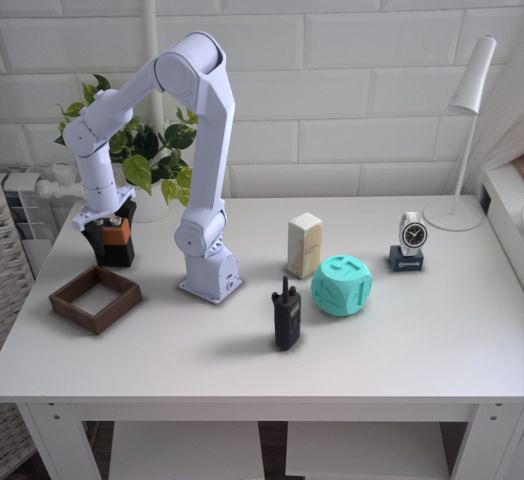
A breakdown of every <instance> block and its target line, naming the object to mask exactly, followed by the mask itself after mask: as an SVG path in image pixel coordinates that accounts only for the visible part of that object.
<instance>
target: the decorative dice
mask: <svg viewBox="0 0 524 480" xmlns="http://www.w3.org/2000/svg"><path fill="white" fill-rule="evenodd" d="M312 275H313V276H312V278H311V282H310V293H311V296H312V298H313V300H314V302H315V304H316V305H317V306H318V307H319V308H320V310H322V311H323V312H325V313H327V314H329V315H331V316H335V317H347V316H351V315H354V314H356V313H357V312H358V311H360V310H361V308H362V307H363V306H364V305H365V303H366V302H367V300H368V298H369V296H370V294H371V292H372V291H371V290H372V287H373V278H372V274H371V272H370V270H369V268H368V266H367V265H366V264H365V263H364V262H363V261H361V260H360V259H359V258H357V257H355V256H352V255H348V254H334V255H332V256H331V255H330V256H329V257H327V258H325V259H324V260H323V261H321V262H320V265H319V266H318V268H317V269H316V271H315V272H313V274H312Z"/></svg>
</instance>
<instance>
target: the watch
mask: <svg viewBox="0 0 524 480" xmlns="http://www.w3.org/2000/svg"><path fill="white" fill-rule="evenodd" d="M398 227H399V231H398V233H399V234H398V239H399V241H398V242H399V244H395V245H390V247H389V255H388V260H389V261H388V262H389V264H390V267H391V269H392V272H394V273H398V272H414V271H415V272H417V271H422V270H423V264H424V260H425V259H424V258H425V256H424V254H423V252H422V249H423V248H424V245H425V244H426V242H427V241H428V237H430V231H428V229H427V227H426V225H425V223H424V221H423V218H421V217H420V215H419V213H418V212H417V211H408V212H402V214H401V218H400V222H399V226H398Z"/></svg>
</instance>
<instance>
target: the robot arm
mask: <svg viewBox="0 0 524 480" xmlns="http://www.w3.org/2000/svg"><path fill="white" fill-rule="evenodd" d="M226 66H227V54H226V53H225V51H224V50H223V49H222V47H221V45H220V44H219V43H218V42H217V41H216V39H215V37H213V36H212V35H211V34H210V33H208V32H206V31H203V30H194V31H191V32H190V33H188V34H186V36H185V38H184V39H182V40H178V41H177V42H175V43H173V44H171V45H170V46H169V47H166V48H165V49H164V50H162V51H161V52H159V53H158V54H156V55H154V56H153V57H152V58H150V59H149V60H148V61H146V62H145V63H144V64H143V65H142V66H141V67H140V68H139V69H138V70H137V71H136V72H134V74H133V75H132V76H131V77H130V78H129V79H128V80H127V81H126V82H125V83H124V84H123V85H122V86H121V87H120V88H119V89H118V90H117V89H115V88H109V89H106V90H103V89H100V90H98V92H96V93H95V94H94V95H93V99H94V101H93V102H92V103H91V104H90V105H88V107H87V106H83V107H82V108H81V109H80V110H79V111H78V114H79V116H78V117H77V118H75V119H74V120H72V121H71V122H68V123H66V124H65V127H64V128H63V131H62V139H63V141H64V144H65V146H66V147H67V148H68V150H69V151H70V152H71V153H73V155H74V156H75V160H76V165H77V169H78V172H79V176H80V180H81V184H82V188H83V191H84V196H85V203H86V204H85V205H84V206H83V207H82V208H81V210H80V211H79V212H77V213H78V214H76V215H75V216H74V217H73V218H71V220H70V221H71V226H72V229H73V230H76V231H78V232H79V233H80V234H82V236H83V237H84V238H85V239H86V241H87V242H88V243H89V245H90V246H91V248H92V250H93V252H95V253H96V254H98V255H101V256H103V255H104V254H105V250H104V245H103V239H102V234H103V228H101V227H99V226H97V224H96V223H94V220H96V219H98V218H105V217H107V216H110V215H112V214H114V217H115V216H118V217H121V218H127V219H128V224H129V229H130V233H131V234H132V225H133V219H134V215H135V212H136V210H137V208H138V206H137V202H136V201H134V200H132V199H134V198H136V197H137V195H136V190H135V187H134V186H132V185H131V186H130V185H129V184H126V185H124V186H122V187H120V188H117V185H116V180H115V175H114V171H113V166H112V161H111V156H110V152H109V151H110V140H111V138H112V137H113V136H114V135H115V134H117V133H118V132H119V131H120V130H121V129H122V128H123V127H125V126H126V125H128V124H129V122H130V121H131V120H132V118H133V115H134V110H133V107H134V106H135V105H137V104H138V103H139V102H140V101H142V100H143V99H144V98H145V97H147V96H148V95H149V94H150V93H151V92H152V91H153V90H156V91H158V93H160V94H163V93H165V92H167V93H168V95H170V96H171V97H173V98H174V99H175V100H176V101H178V102H179V103H180V104H181V105H182V106H183V107H185V109H187V110H189V112H191V113H192V114H194V115H196V116H197V124H196V125H197V126H196V133H195V136H196V137H195V142H194V143H195V144H194V151H193V161H192V168H191V176H190V177H191V178H190V187H189V196H188V202H187V204H186V207H185V209H184V210H183V213H182V215H181V218H180V224H179V226H178V228H176V229H175V231H174V235H173V238H174V242H175V245H176V246H177V248H178V249H179V250H180V252H181V253H182V254H183V256H184V263H185V269H186V276H187V277H186V279H184V280H183V281H182V282H180V283H179V284H178V288H179V289H180V290H181V289H182V290H183V291H186V292H188V293H190V294H193V295H194V296H197V297H199V298H202V299H204V300H206V301H208V302H211V303H212V304H215V305H218V304H220V303H221V302H222V301H223V300H224V299H225V298H227V297H228V296H229V295H230V294H231V293H232V292H233V291H235V290H236V289H237V288H238V287H239V286H240V285H241V284H242V283H243V281H242V279H240V275H239V274H240V273H239V260H238V259H239V258H238V257H237V255H236V254H235V253H233V252H232V251H231V250H229V249H228V248H227V247H226V246H225V244H224V242H223V241H224V240H223V230H224V229H225V228H226V227H227V224H228V216H227V213H226V210H225V207H226V201H225V200H224V199H223V198H222V192H223V185H224V178H225V172H226V167H227V160H228V154H229V149H230V148H229V147H230V141H231V136H232V128H233V123H234V116H235V110H236V101H235V98H234V93H233V91H232V87H231V84H230V81H229V77H228V76H229V75H228V73H227V69H226V68H227V67H226ZM95 253H94V254H95Z"/></svg>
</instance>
